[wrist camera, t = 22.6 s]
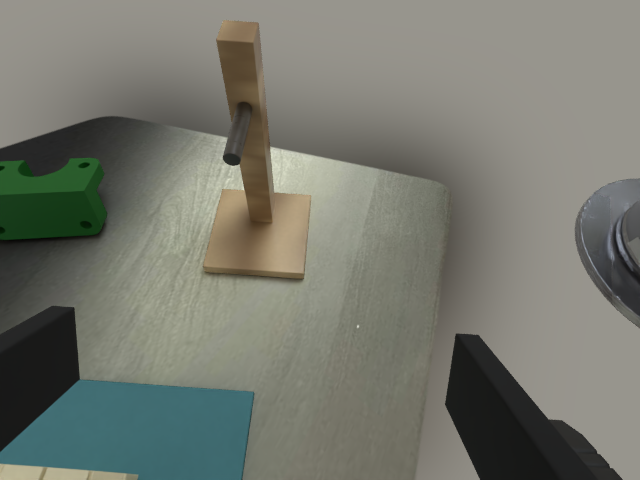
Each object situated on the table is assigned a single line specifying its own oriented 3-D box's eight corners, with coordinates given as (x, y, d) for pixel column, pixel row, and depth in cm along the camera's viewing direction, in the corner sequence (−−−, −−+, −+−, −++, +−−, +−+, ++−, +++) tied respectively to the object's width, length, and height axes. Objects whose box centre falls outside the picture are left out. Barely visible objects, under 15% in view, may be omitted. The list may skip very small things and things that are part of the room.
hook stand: (310, 201, 45) (316, 12, 27) (303, 279, 40) (305, 106, 22) (224, 195, 45) (173, 1, 27) (205, 272, 40) (126, 93, 22)
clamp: (113, 223, 48) (120, 162, 42) (97, 258, 43) (104, 195, 38) (-6, 196, 43) (-14, 125, 38) (-36, 232, 39) (-50, 157, 34)
